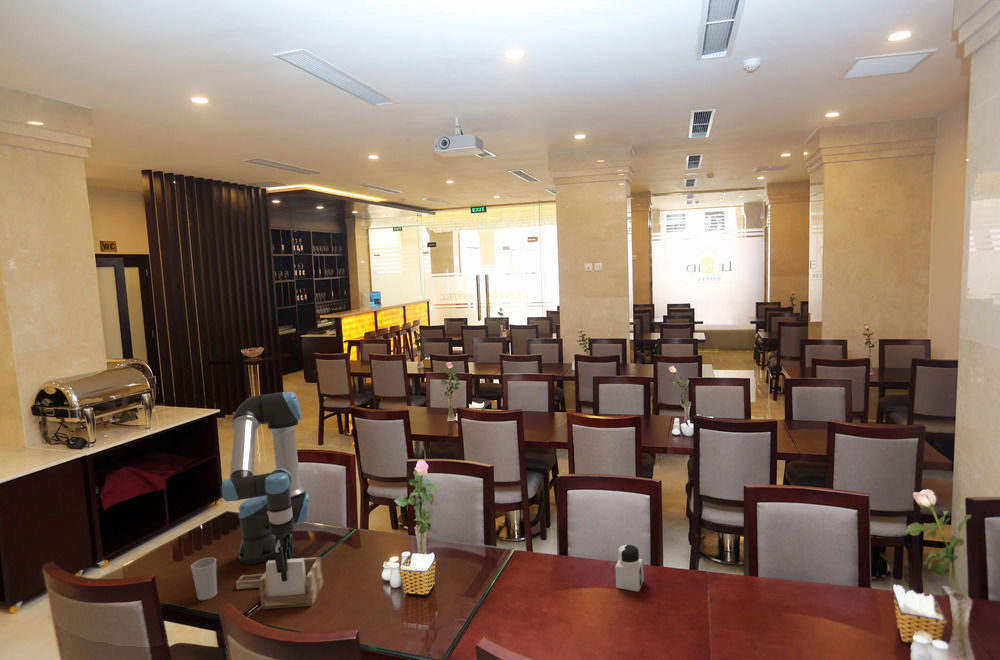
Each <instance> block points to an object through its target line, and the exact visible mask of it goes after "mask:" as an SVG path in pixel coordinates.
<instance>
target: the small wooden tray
mask: <svg viewBox="0 0 1000 660" xmlns="http://www.w3.org/2000/svg"><path fill="white" fill-rule="evenodd" d="M263 574H264V573H256V574H242V575H241V576H240V577H239V578H238V579H237V581H236V582H235V586H236V588H235V589H236V590H244V589H256V588H258V589H259V580H260V578H261V577H262V576H263Z"/></svg>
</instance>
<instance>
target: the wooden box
mask: <svg viewBox="0 0 1000 660" xmlns="http://www.w3.org/2000/svg"><path fill="white" fill-rule="evenodd" d="M303 558H304V564H305V574H306V584H307V594H301V595H288V596H275V597H269V589H268V579H267V569H266V570H265V571H264V572H263V573H262V574H263V576H262V577H261V578H260V580H259V588H258V590H259V597H260V598H259V599H260V607H261V610H270V609H282V608H284V609H286V608H295V607H308V606H309V607H310V606H313V605H314V604H315V601H316V599H317V597H318V596H319V593H320V591H321V589H322V588H323V585H324V575H323V567H322V566H323V565H322V557H321V556H317V557H316V556H315V557H303Z"/></svg>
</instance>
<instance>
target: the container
mask: <svg viewBox="0 0 1000 660" xmlns="http://www.w3.org/2000/svg"><path fill="white" fill-rule="evenodd" d="M639 552H640V551H639V548H638V547H637V546H635V545H631V544H625V545H621V546H620V547H619V548H618V560H617V563H616V564H615V587H616V588H617V589H622V590H626V591H632V592H640V590H641V589H642V588H641V587H642V585H643V584H644V559H643V558H640V556H639V555H640V554H639Z"/></svg>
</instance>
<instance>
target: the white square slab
mask: <svg viewBox="0 0 1000 660" xmlns="http://www.w3.org/2000/svg"><path fill="white" fill-rule="evenodd" d="M304 558H305V557H301V558H294V559H287V566H288V570H289V575H290V584H291V588H290V589H284V590H282V584H281V575H280V573H277V567H276V561H275V559H270V560H268V561H266V564H265V567H266V568H265V569H266V570H267V579H268V589H269V597H275V596H288V595H301V594H307V584H306V574H305V564H304Z"/></svg>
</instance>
